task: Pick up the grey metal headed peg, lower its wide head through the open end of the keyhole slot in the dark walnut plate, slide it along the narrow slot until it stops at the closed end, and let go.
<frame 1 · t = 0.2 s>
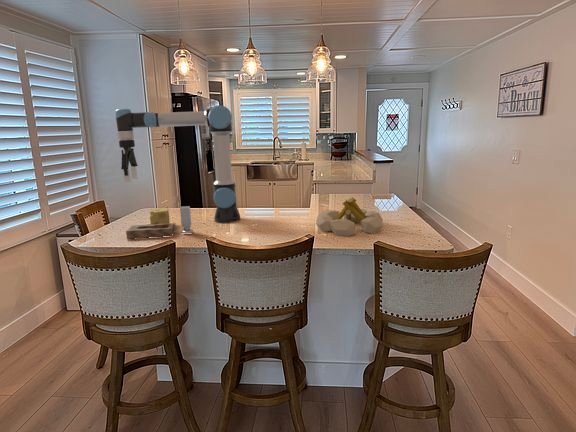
hand: (131, 180, 216), 28 cm above the countertop, tool pointing down, fingers open, 13 cm apart
cheese: (160, 227, 228), on the countertop
peg: (187, 233, 212), on the countertop
keyhole plate: (152, 235, 211), on the countertop
campfire: (349, 228, 213), on the countertop
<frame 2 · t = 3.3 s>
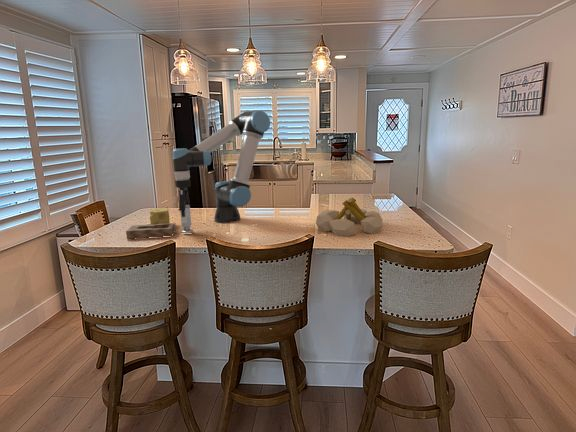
hand: (186, 219, 211), 7 cm above the countertop, tool pointing down, fingers open, 13 cm apart
nothing on the countertop moved.
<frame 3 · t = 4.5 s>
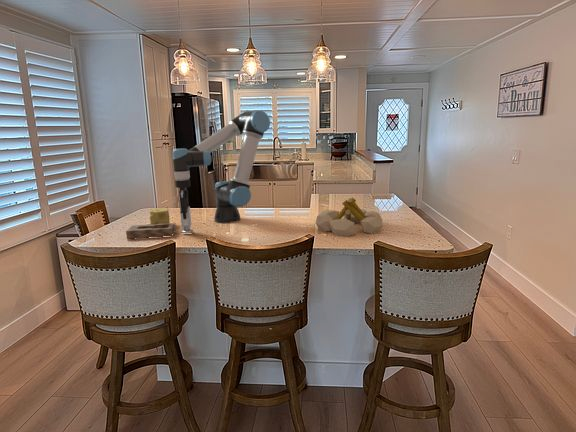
hand: (186, 223, 211), 5 cm above the countertop, tool pointing down, fingers closed on peg, 4 cm apart
peg: (187, 233, 212), on the countertop, touching gripper
everything else where it was.
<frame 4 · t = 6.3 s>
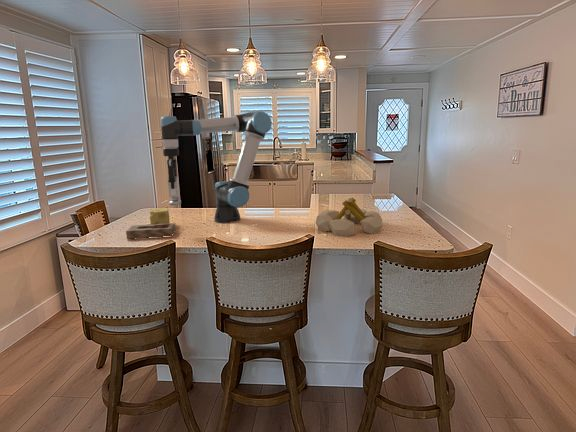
hand: (174, 194, 207), 21 cm above the countertop, tool pointing down, fingers closed on peg, 4 cm apart
peg: (175, 204, 208), point 16 cm above the countertop, touching gripper
everything else where it was.
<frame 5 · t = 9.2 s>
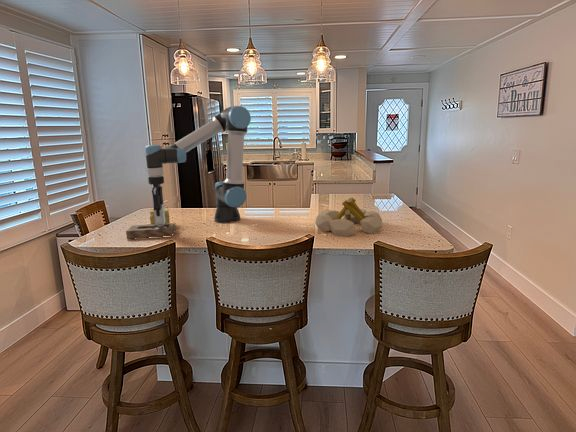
hand: (160, 220, 210), 7 cm above the countertop, tool pointing down, fingers closed on peg, 4 cm apart
peg: (161, 230, 211), point 2 cm above the countertop, touching gripper
everything else where it was.
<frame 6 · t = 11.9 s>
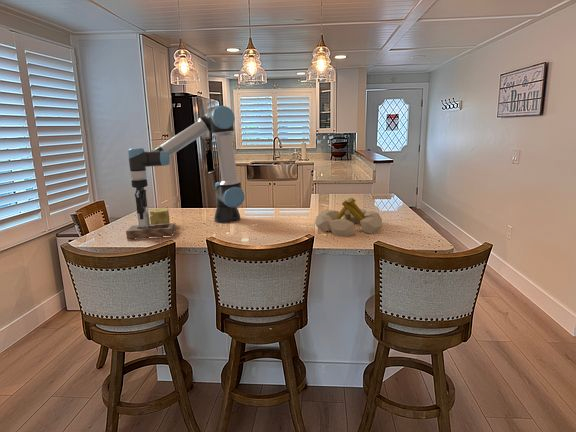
hand: (144, 224, 209), 6 cm above the countertop, tool pointing down, fingers closed on peg, 4 cm apart
peg: (145, 233, 210), point 1 cm above the countertop, touching gripper
everything else where it was.
when the fingers open (6 cm above the countertop, at t = 13.1 s): peg stays where it is, resting on keyhole plate.
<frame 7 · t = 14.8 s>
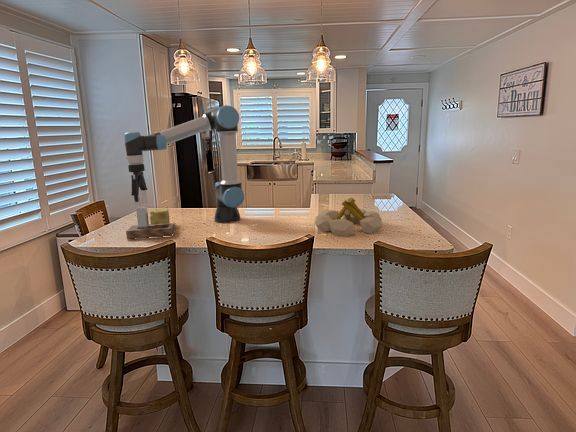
hand: (141, 205, 207), 16 cm above the countertop, tool pointing down, fingers open, 13 cm apart
peg: (144, 233, 210), point 1 cm above the countertop, touching keyhole plate
everything else where it was.
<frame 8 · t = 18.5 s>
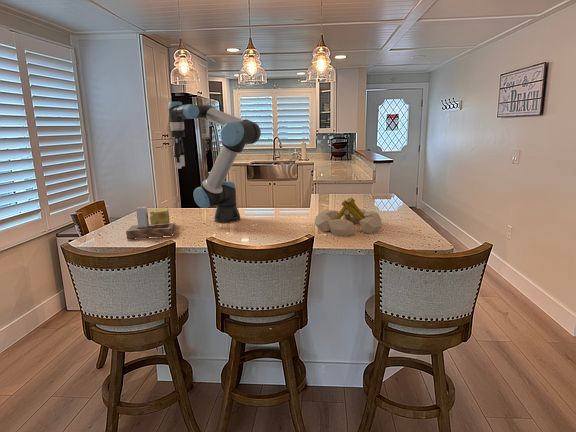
hand: (180, 167, 235), 32 cm above the countertop, tool pointing down, fingers open, 13 cm apart
nothing on the countertop moved.
at the end: peg 0.0 cm from the target spot on the keyhole plate, point 1.0 cm above the keyhole plate's base; peg tilted 0°; the gripper is holding nothing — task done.
